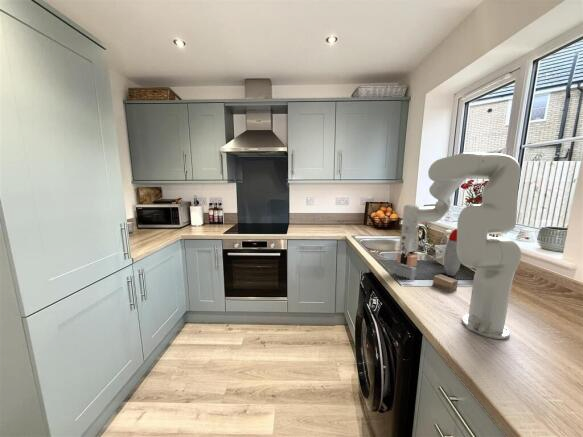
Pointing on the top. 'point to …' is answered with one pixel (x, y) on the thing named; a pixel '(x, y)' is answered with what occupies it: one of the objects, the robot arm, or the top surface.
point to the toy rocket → (451, 255)
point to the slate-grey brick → (406, 271)
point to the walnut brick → (445, 283)
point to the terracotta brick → (409, 259)
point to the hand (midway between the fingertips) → (406, 262)
